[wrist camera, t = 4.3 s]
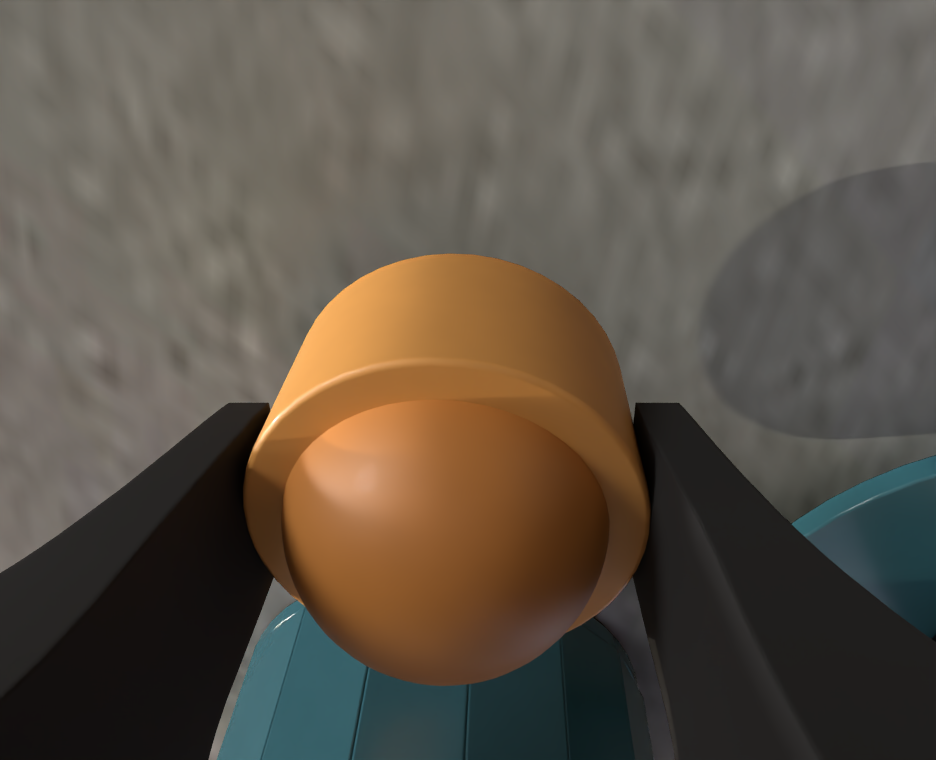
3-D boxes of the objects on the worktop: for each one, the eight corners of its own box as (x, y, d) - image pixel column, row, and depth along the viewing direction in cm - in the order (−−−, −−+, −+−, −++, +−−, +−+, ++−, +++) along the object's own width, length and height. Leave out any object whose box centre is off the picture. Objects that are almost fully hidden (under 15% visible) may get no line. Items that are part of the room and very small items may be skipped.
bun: (637, 248, 10) (718, 467, 6) (609, 519, 13) (651, 784, 9) (269, 253, 11) (122, 463, 7) (324, 516, 14) (245, 770, 10)
